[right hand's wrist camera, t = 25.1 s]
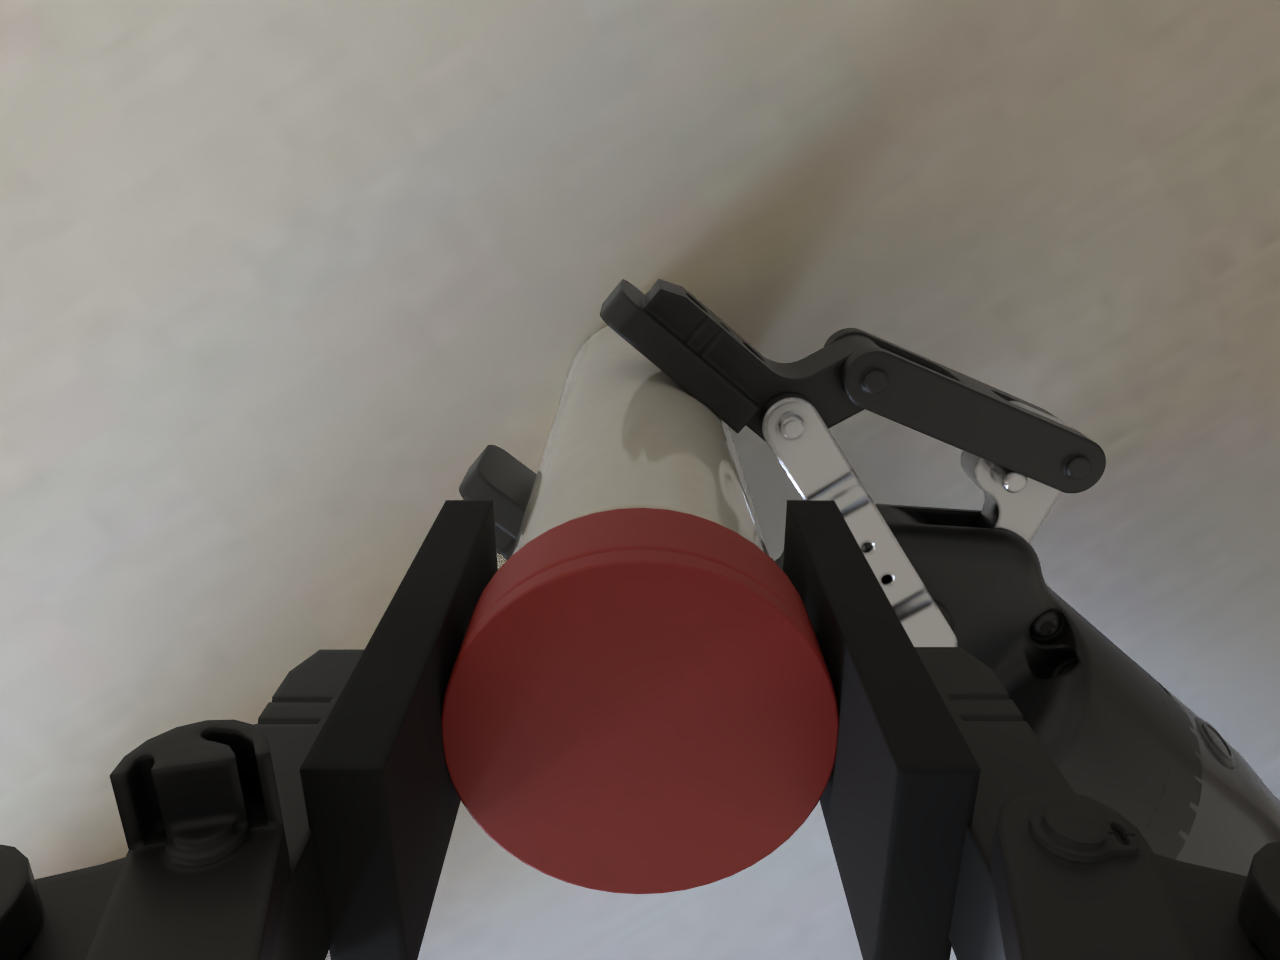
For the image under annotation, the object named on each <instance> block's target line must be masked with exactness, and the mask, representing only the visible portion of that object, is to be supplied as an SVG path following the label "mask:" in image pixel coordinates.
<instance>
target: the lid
mask: <svg viewBox="0 0 1280 960" xmlns="http://www.w3.org/2000/svg"><path fill="white" fill-rule="evenodd" d="M441 723H442V737H443V747H444V757H445V762H446V765H447V768H448V771H449V775H450V778H451V781H452V783H453V785H454V787H455V789H456V791H457V793H458V795H459V797H460V799H461V801H462V803H463V804H464V805H465V807H466V808H467V810H468V811H469V813H470V814H471V816H472V817H473V819H474V820H475V821H476V822H477V823H478V824H479V825H480V827H481V828H482V829H483V830H484V831H485V832H486V833H487V834H488V835H489V836H490V837H491V838H492V839H493V840H494V841H495V842H497V843H498V844H499V845H500V846H501V847H502V848H504V849H505V850H506V851H507V852H509V853H510V854H512V855H513V856H515V857H516V858H518V859H519V860H521V861H522V862H524V863H525V864H527V865H529V866H531V867H533V868H535V869H537V870H539V871H541V872H543V873H544V874H547V875H549V876H552V877H554V878H557V879H560V880H562V881H565V882H567V883H571V884H575V885H578V886H582V887H586V888H589V889H595V890H601V891H607V892H613V893H629V894H651V893H666V892H673V891H680V890H686V889H690V888H694V887H698V886H702V885H706V884H710V883H713V882H715V881H718V880H721V879H724V878H726V877H729V876H732V875H734V874H736V873H738V872H740V871H742V870H744V869H746V868H748V867H750V866H752V865H753V864H755V863H756V862H758V861H760V860H761V859H763V858H764V857H766V856H767V855H769V854H770V853H772V852H773V851H774V850H775V849H777V848H778V847H779V846H780V845H782V844H783V843H784V842H785V841H786V840H788V839H789V838H790V837H791V836H792V835H793V834H794V832H795V831H796V830H797V829H798V828H799V827H800V826H801V825H802V824H803V823H804V822H805V820H806V819H807V818H808V816H809V815H810V813H811V812H812V811H813V809H814V808H815V806H816V805H817V803H818V801H819V800H820V798H821V796H822V794H823V792H824V790H825V788H826V786H827V784H828V781H829V778H830V776H831V773H832V770H833V767H834V764H835V759H836V751H837V741H838V730H839V711H838V703H837V697H836V694H835V690H834V687H833V683H832V680H831V676H830V674H829V671H828V668H827V665H826V663H825V660H824V657H823V654H822V651H821V648H820V646H819V643H818V640H817V637H816V634H815V632H814V629H813V626H812V623H811V621H810V618H809V615H808V612H807V610H806V608H805V606H804V604H803V601H802V599H801V597H800V595H799V593H798V592H797V590H796V589H795V587H794V586H793V584H792V582H791V581H790V579H789V578H788V576H787V575H786V574H785V573H784V572H783V571H782V569H781V568H780V567H779V566H778V565H777V564H776V563H775V562H774V560H773V559H772V558H770V557H769V556H768V555H767V554H766V553H764V552H763V551H762V550H761V549H760V548H759V547H757V546H756V545H755V544H754V543H752V542H750V541H749V540H747V539H746V538H744V537H743V536H741V535H740V534H738V533H737V532H735V531H733V530H730V529H728V528H726V527H724V526H722V525H720V524H718V523H716V522H713V521H710V520H707V519H704V518H701V517H698V516H695V515H692V514H687V513H682V512H677V511H672V510H667V509H653V508H627V509H615V510H609V511H603V512H597V513H593V514H589V515H586V516H583V517H579V518H576V519H573V520H570V521H567V522H565V523H563V524H561V525H558V526H556V527H554V528H552V529H549V530H548V531H546V532H544V533H543V534H541V535H539V536H538V537H536V538H534V539H533V540H531V541H530V542H528V543H527V544H526V545H524V546H523V547H522V548H521V549H519V550H518V551H517V552H516V553H515V554H513V555H512V556H511V557H510V558H509V559H508V560H507V561H506V562H505V563H504V564H503V565H502V567H501V568H500V569H499V570H498V571H497V572H496V573H495V575H494V576H493V577H492V579H491V580H490V582H489V583H488V585H487V586H486V587H485V589H484V590H483V592H482V594H481V596H480V598H479V600H478V602H477V604H476V606H475V608H474V611H473V614H472V617H471V619H470V622H469V625H468V628H467V630H466V633H465V636H464V639H463V642H462V644H461V647H460V650H459V653H458V656H457V659H456V661H455V664H454V667H453V670H452V672H451V676H450V679H449V682H448V685H447V688H446V691H445V694H444V701H443V707H442V713H441Z"/></svg>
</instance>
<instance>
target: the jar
mask: <svg viewBox="0 0 1280 960" xmlns="http://www.w3.org/2000/svg"><path fill="white" fill-rule="evenodd" d="M627 508H653V509H667V510H672V511H677V512H682V513H687V514H692V515H695V516H698V517H701V518H704V519H707V520H710V521H713V522H716V523H718V524H720V525H722V526H724V527H726V528H728V529H730V530H733V531H735V532H737V533H738V534H740V535H741V536H743V537H744V538H746V539H747V540H749V541H750V542H752V543H754V544H755V545H756V546H757V547H759V548H760V549H761V550H762V551H763V552H764V553H766V554H767V555H768V556H769V553H768V550H767V547H766V544H765V541H764V538H763V534H762V531H761V528H760V525H759V522H758V518H757V515H756V512H755V509H754V506H753V502H752V499H751V496H750V493H749V490H748V487H747V483H746V480H745V477H744V474H743V471H742V467H741V464H740V461H739V458H738V455H737V452H736V448H735V445H734V442H733V439H732V436H731V432H730V429H729V426H728V425H727V424H726V423H725V422H723V421H722V420H721V419H720V418H718V417H717V416H716V415H715V414H714V413H713V412H712V411H710V410H709V409H708V408H707V407H706V406H705V405H703V404H702V403H701V402H699V401H698V400H697V399H696V398H694V397H693V396H692V395H691V394H689V393H688V392H687V391H686V390H685V389H683V388H682V387H681V386H680V385H679V384H677V383H676V382H675V381H674V380H673V379H671V378H670V377H669V376H668V375H666V374H665V373H664V372H663V371H662V370H660V369H659V368H658V367H657V366H656V365H654V364H653V363H652V362H651V361H650V360H648V359H647V358H646V357H645V356H644V355H642V354H641V353H640V352H639V351H637V350H636V349H635V348H634V347H633V346H631V345H630V344H629V343H628V342H627V341H625V340H624V339H623V338H622V337H621V336H619V335H618V334H617V333H616V332H615V331H614V330H612V329H611V328H610V327H609V326H608V325H607V326H606V327H604V328H602V329H600V330H599V331H597V332H596V333H595V334H593V335H592V336H591V337H590V338H589V339H588V340H587V341H586V342H585V343H584V344H583V345H582V347H581V348H580V349H579V351H578V352H577V354H576V356H575V358H574V359H573V362H572V364H571V367H570V370H569V373H568V376H567V379H566V383H565V386H564V389H563V392H562V395H561V399H560V402H559V405H558V408H557V411H556V414H555V418H554V421H553V424H552V427H551V430H550V434H549V437H548V440H547V443H546V446H545V450H544V453H543V456H542V459H541V462H540V465H539V469H538V472H537V475H536V478H535V481H534V485H533V488H532V491H531V494H530V497H529V501H528V504H527V507H526V510H525V513H524V516H523V520H522V523H521V526H520V529H519V532H518V536H517V539H516V542H515V545H514V548H513V551H512V555H513V554H515V553H516V552H517V551H518V550H519V549H521V548H522V547H523V546H524V545H526V544H527V543H528V542H530V541H531V540H533V539H534V538H536V537H538V536H539V535H541V534H543V533H544V532H546V531H548V530H549V529H552V528H554V527H556V526H558V525H561V524H563V523H565V522H567V521H570V520H573V519H576V518H579V517H583V516H586V515H589V514H593V513H597V512H603V511H609V510H615V509H627ZM512 555H511V556H512Z"/></svg>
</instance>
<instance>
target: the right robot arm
mask: <svg viewBox="0 0 1280 960" xmlns="http://www.w3.org/2000/svg"><path fill="white" fill-rule="evenodd" d="M497 571H498V570H497V554H496V538H495V522H494V506H493V500H446V502H445V503H444V505H443V507H442V509H441V511H440V513H439V514H438V516H437V518H436V520H435V522H434V524H433V525H432V527H431V529H430V531H429V533H428V535H427V536H426V538H425V540H424V542H423V544H422V546H421V547H420V549H419V551H418V553H417V555H416V557H415V558H414V560H413V562H412V564H411V566H410V568H409V569H408V571H407V573H406V575H405V577H404V579H403V580H402V582H401V584H400V586H399V588H398V590H397V591H396V593H395V595H394V597H393V599H392V601H391V602H390V604H389V606H388V608H387V610H386V612H385V613H384V615H383V617H382V619H381V621H380V623H379V624H378V626H377V628H376V630H375V632H374V634H373V635H372V637H371V639H370V641H369V643H368V645H367V646H366V648H365V650H319V651H317V652H316V653H315V654H313V655H312V656H311V657H309V658H308V659H306V660H305V661H304V662H302V663H301V664H299V665H298V666H297V667H295V668H294V669H293V670H291V671H290V672H289V673H288V675H287V676H286V678H285V679H284V681H283V682H282V684H281V685H280V687H279V688H278V690H277V691H276V693H275V694H274V696H273V697H272V702H269V703H268V705H267V706H266V708H265V709H264V711H263V712H262V714H261V715H260V717H259V718H258V724H254V725H252V724H248V723H244V722H241V721H237V720H206V721H202V722H198V723H193V724H189V725H185V726H180V727H176V728H174V729H172V730H170V731H167V732H165V733H163V734H160V735H158V736H156V737H154V738H151V739H149V740H147V741H146V742H144V743H143V744H142V745H140V746H139V747H137V748H136V749H135V750H133V751H132V752H130V753H129V754H127V755H126V756H125V757H124V758H123V759H122V760H121V762H120V763H119V764H118V766H117V767H116V768H115V769H114V771H113V772H112V773H111V775H110V779H111V783H112V787H113V791H114V795H115V798H116V802H117V806H118V810H119V814H120V818H121V822H122V825H123V829H124V833H125V837H126V841H127V845H128V849H129V851H128V853H127V856H126V857H125V858H121V859H118V860H115V861H111V862H108V863H105V864H101V865H97V866H93V867H88V868H84V869H79V870H75V871H71V872H66V873H62V874H58V875H53V876H49V877H45V878H40V879H36V880H34V876H33V873H32V870H31V867H30V864H29V860H28V858H26V857H25V856H24V855H23V854H22V853H21V852H20V851H19V850H17V849H16V848H15V847H11V846H5V845H0V960H325V958H326V956H327V953H328V950H330V956H331V960H417V958H418V954H419V951H420V947H421V943H422V940H423V936H424V933H425V929H426V925H427V922H428V918H429V914H430V911H431V907H432V903H433V900H434V896H435V892H436V889H437V885H438V881H439V878H440V874H441V870H442V867H443V863H444V859H445V856H446V852H447V848H448V845H449V841H450V837H451V834H452V830H453V826H454V823H455V819H456V816H457V812H458V808H459V805H460V801H461V799H460V797H459V795H458V793H457V791H456V789H455V787H454V785H453V783H452V781H451V778H450V775H449V771H448V768H447V765H446V762H445V757H444V747H443V737H442V723H441V713H442V707H443V701H444V694H445V691H446V688H447V685H448V682H449V679H450V676H451V672H452V670H453V667H454V664H455V661H456V659H457V656H458V653H459V650H460V647H461V644H462V642H463V639H464V636H465V633H466V630H467V628H468V625H469V622H470V619H471V617H472V614H473V611H474V608H475V606H476V604H477V602H478V600H479V598H480V596H481V594H482V592H483V590H484V589H485V587H486V586H487V585H488V583H489V582H490V580H491V579H492V577H493V576H494V575H495V573H496V572H497ZM783 572H784V573H785V574H786V575H787V576H788V578H789V579H790V581H791V582H792V584H793V586H794V587H795V589H796V590H797V592H798V593H799V595H800V597H801V599H802V601H803V604H804V606H805V608H806V610H807V612H808V615H809V618H810V621H811V623H812V626H813V629H814V632H815V634H816V637H817V640H818V643H819V646H820V648H821V651H822V654H823V657H824V660H825V663H826V665H827V668H828V671H829V674H830V676H831V680H832V683H833V687H834V690H835V694H836V697H837V703H838V711H839V730H838V741H837V751H836V759H835V764H834V767H833V770H832V773H831V776H830V778H829V781H828V784H827V786H826V788H825V790H824V792H823V794H822V796H821V798H820V803H821V807H822V810H823V814H824V818H825V821H826V825H827V829H828V832H829V836H830V840H831V843H832V847H833V851H834V854H835V858H836V862H837V865H838V869H839V873H840V876H841V880H842V884H843V887H844V891H845V895H846V898H847V902H848V906H849V909H850V913H851V917H852V920H853V924H854V927H855V931H856V935H857V938H858V942H859V946H860V949H861V953H862V957H863V960H949V959H950V953H951V947H952V948H953V950H954V953H955V955H956V958H957V960H1280V841H1278V842H1272V843H1267V844H1266V845H1265V846H1263V847H1262V848H1261V849H1260V850H1259V851H1258V852H1257V853H1256V854H1254V856H1253V859H1252V862H1251V865H1250V868H1249V872H1248V875H1247V876H1244V875H1239V874H1235V873H1230V872H1226V871H1222V870H1217V869H1213V868H1209V867H1204V866H1200V865H1195V864H1191V863H1187V862H1182V861H1178V860H1175V859H1172V858H1168V857H1165V856H1161V855H1158V854H1155V853H1153V852H1152V849H1151V847H1150V846H1149V844H1148V843H1147V841H1146V840H1145V838H1144V837H1143V835H1142V834H1141V832H1140V831H1139V829H1138V828H1137V827H1135V826H1134V825H1133V824H1132V823H1131V822H1129V821H1128V820H1127V819H1126V818H1124V817H1123V816H1122V815H1121V814H1119V813H1118V812H1117V811H1116V810H1114V809H1112V808H1110V807H1108V806H1106V805H1104V804H1102V803H1100V802H1098V801H1096V800H1094V799H1092V798H1090V797H1087V796H1084V795H1080V794H1076V793H1074V791H1073V790H1072V788H1071V787H1070V785H1069V784H1068V782H1067V781H1066V779H1065V778H1064V777H1063V775H1062V774H1061V772H1060V771H1059V769H1058V768H1057V766H1056V765H1055V763H1054V762H1053V760H1052V759H1051V757H1050V756H1049V754H1048V753H1047V751H1046V750H1045V748H1044V747H1043V745H1042V744H1041V742H1040V741H1039V739H1038V738H1037V736H1036V735H1035V733H1034V732H1033V730H1032V729H1031V727H1030V726H1029V724H1028V723H1027V721H1023V715H1022V714H1021V712H1020V711H1019V709H1018V708H1017V706H1016V705H1015V703H1014V702H1013V700H1009V697H1008V696H1009V694H1008V693H1007V691H1006V690H1005V688H1004V687H1003V685H1002V684H1001V682H1000V681H999V679H998V678H997V676H996V675H995V673H994V672H993V671H992V669H991V668H989V667H988V666H987V665H985V664H984V663H982V662H981V661H980V660H978V659H977V658H976V657H974V656H973V655H971V654H970V653H969V652H967V651H966V650H964V649H963V648H962V647H914V646H913V644H912V642H911V640H910V638H909V636H908V635H907V633H906V631H905V629H904V627H903V625H902V624H901V622H900V620H899V618H898V616H897V614H896V613H895V611H894V609H893V607H892V605H891V603H890V602H889V600H888V598H887V596H886V594H885V592H884V591H883V589H882V587H881V585H880V583H879V581H878V580H877V578H876V576H875V574H874V572H873V570H872V569H871V567H870V565H869V563H868V561H867V559H866V558H865V556H864V554H863V552H862V550H861V548H860V547H859V545H858V543H857V541H856V539H855V537H854V536H853V534H852V532H851V530H850V528H849V526H848V525H847V523H846V521H845V519H844V517H843V515H842V514H841V512H840V510H839V508H838V506H837V504H836V503H835V501H834V500H787V512H786V528H785V544H784V560H783Z"/></svg>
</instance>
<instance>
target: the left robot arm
mask: <svg viewBox="0 0 1280 960" xmlns="http://www.w3.org/2000/svg"><path fill="white" fill-rule="evenodd" d="M600 316H601V318H602V319H603V320H604V321H605V323H606V324H607V325H608V326H609V327H610V328H611V329H612V330H614V331H615V332H616V333H617V334H618V335H619V336H621V337H622V338H623V339H624V340H625V341H627V342H628V343H629V344H630V345H631V346H633V347H634V348H635V349H636V350H637V351H639V352H640V353H641V354H642V355H644V356H645V357H646V358H647V359H648V360H650V361H651V362H652V363H653V364H654V365H656V366H657V367H658V368H659V369H660V370H662V371H663V372H664V373H665V374H666V375H668V376H669V377H670V378H671V379H673V380H674V381H675V382H676V383H677V384H679V385H680V386H681V387H682V388H683V389H685V390H686V391H687V392H688V393H689V394H691V395H692V396H693V397H694V398H696V399H697V400H698V401H699V402H701V403H702V404H703V405H705V406H706V407H707V408H708V409H709V410H710V411H712V412H713V413H714V414H715V415H716V416H717V417H718V418H720V419H721V420H722V421H723V422H725V423H726V424H727V425H728V426H729V427H731V428H732V429H733V430H734V431H735V432H737V433H739V432H740V431H741V429H742V428H743V427H744V426H745V425H746V426H748V427H749V428H750V429H751V430H752V431H754V432H755V433H756V434H757V435H758V436H760V437H761V438H762V439H763V440H764V441H766V442H767V444H768V445H769V447H770V448H771V450H772V451H773V453H774V454H775V456H776V458H777V459H778V461H779V462H780V464H781V465H782V467H783V468H784V470H785V472H786V473H787V475H788V476H789V478H790V479H791V481H792V482H793V484H794V486H795V487H796V489H797V490H798V492H799V493H800V495H801V496H802V498H803V500H834V501H835V503H836V504H837V506H838V508H839V510H840V512H841V514H842V515H843V517H844V519H845V521H846V523H847V525H848V526H849V528H850V530H851V532H852V534H853V536H854V537H855V539H856V541H857V543H858V545H859V547H860V548H861V550H862V552H863V554H864V556H865V558H866V559H867V561H868V563H869V565H870V567H871V569H872V570H873V572H874V574H875V576H876V578H877V580H878V581H879V583H880V585H881V587H882V589H883V591H884V592H885V594H886V596H887V598H888V600H889V602H890V603H891V605H892V607H893V609H894V611H895V613H896V614H897V616H898V618H899V620H900V622H901V624H902V625H903V627H904V629H905V631H906V633H907V635H908V636H909V638H910V640H911V642H912V644H913V646H914V647H962V648H963V649H964V650H966V651H967V652H969V653H970V654H971V655H973V656H974V657H976V658H977V659H978V660H980V661H981V662H982V663H984V664H985V665H987V666H988V667H989V668H991V669H992V671H993V672H994V673H995V675H996V676H997V678H998V679H999V681H1000V682H1001V684H1002V685H1003V687H1004V688H1005V690H1006V691H1007V693H1008V694H1009V696H1008V697H1009V700H1013V702H1014V703H1015V705H1016V706H1017V708H1018V709H1019V711H1020V712H1021V714H1022V715H1023V721H1027V723H1028V724H1029V726H1030V727H1031V729H1032V730H1033V732H1034V733H1035V735H1036V736H1037V738H1038V739H1039V741H1040V742H1041V744H1042V745H1043V747H1044V748H1045V750H1046V751H1047V753H1048V754H1049V756H1050V757H1051V759H1052V760H1053V762H1054V763H1055V765H1056V766H1057V768H1058V769H1059V771H1060V772H1061V774H1062V775H1063V777H1064V778H1065V779H1066V781H1067V782H1068V784H1069V785H1070V787H1071V788H1072V790H1073V791H1074V793H1076V794H1080V795H1084V796H1087V797H1090V798H1092V799H1094V800H1096V801H1098V802H1100V803H1102V804H1104V805H1106V806H1108V807H1110V808H1112V809H1114V810H1116V811H1117V812H1118V813H1119V814H1121V815H1122V816H1123V817H1124V818H1126V819H1127V820H1128V821H1129V822H1131V823H1132V824H1133V825H1134V826H1135V827H1137V828H1138V829H1139V831H1140V832H1141V834H1142V835H1143V837H1144V838H1145V840H1146V841H1147V843H1148V844H1149V846H1150V847H1151V849H1152V852H1153V853H1155V854H1158V855H1161V856H1165V857H1168V858H1172V859H1175V860H1178V861H1182V862H1187V863H1191V864H1195V865H1200V866H1204V867H1209V868H1213V869H1217V870H1222V871H1226V872H1230V873H1235V874H1239V875H1244V876H1247V875H1248V872H1249V868H1250V865H1251V862H1252V859H1253V856H1254V854H1256V853H1257V852H1258V851H1259V850H1260V849H1261V848H1262V847H1263V846H1265V845H1266V844H1267V843H1272V842H1278V841H1280V800H1279V799H1278V798H1276V797H1275V796H1274V795H1273V794H1272V792H1271V791H1270V790H1269V789H1268V788H1267V787H1266V785H1265V784H1264V783H1263V782H1262V780H1261V779H1260V778H1259V777H1258V775H1257V774H1256V773H1255V771H1254V770H1253V769H1252V768H1251V767H1250V765H1249V764H1248V763H1247V762H1246V761H1245V760H1244V759H1243V757H1242V756H1241V755H1240V754H1239V753H1238V752H1237V751H1236V750H1235V749H1233V748H1232V747H1231V746H1230V745H1229V744H1228V743H1227V742H1226V741H1225V740H1224V739H1223V738H1222V737H1221V735H1220V734H1219V733H1218V732H1217V731H1216V730H1215V729H1214V728H1213V727H1212V726H1211V725H1210V724H1209V723H1207V722H1205V721H1204V720H1202V719H1201V718H1199V717H1198V716H1197V715H1196V714H1194V713H1193V712H1192V711H1191V710H1190V709H1189V708H1187V707H1186V706H1185V705H1184V704H1183V703H1182V702H1180V701H1179V700H1178V699H1177V698H1176V697H1175V696H1173V695H1172V694H1171V693H1170V692H1169V691H1168V690H1166V689H1165V688H1164V687H1163V686H1162V685H1161V684H1160V683H1159V682H1157V681H1156V680H1155V679H1154V678H1153V677H1152V676H1151V675H1149V674H1148V673H1147V672H1146V671H1145V670H1144V669H1143V668H1141V667H1140V666H1139V665H1138V664H1137V663H1136V662H1134V661H1133V660H1132V659H1131V658H1130V657H1129V656H1127V655H1126V654H1125V653H1124V652H1123V651H1122V650H1120V649H1119V648H1118V647H1117V646H1116V645H1115V644H1114V643H1112V642H1111V641H1110V640H1109V639H1108V638H1107V637H1105V636H1104V635H1103V634H1102V633H1101V632H1100V631H1099V630H1097V629H1096V628H1095V627H1094V626H1093V625H1092V624H1090V623H1089V622H1088V621H1087V620H1086V619H1085V618H1084V617H1082V616H1081V615H1080V614H1079V613H1078V612H1077V611H1076V610H1074V609H1073V608H1072V607H1071V606H1070V605H1069V604H1067V603H1066V602H1065V601H1064V600H1063V599H1062V598H1061V597H1059V596H1058V595H1057V594H1056V593H1055V592H1054V591H1052V590H1051V589H1050V588H1049V587H1048V586H1047V585H1046V583H1045V581H1044V578H1043V576H1042V572H1041V567H1040V562H1039V559H1038V557H1037V554H1036V553H1035V551H1034V549H1033V548H1032V546H1031V545H1030V544H1029V542H1030V541H1031V539H1032V538H1033V536H1034V534H1035V533H1036V531H1037V530H1038V528H1039V527H1040V525H1041V523H1042V522H1043V520H1044V519H1045V517H1046V515H1047V514H1048V512H1049V511H1050V509H1051V508H1052V506H1053V504H1054V503H1055V501H1056V500H1057V498H1058V496H1059V495H1060V493H1061V492H1065V493H1078V492H1082V491H1085V490H1087V489H1089V488H1090V487H1092V486H1093V485H1094V484H1095V483H1097V481H1098V480H1099V479H1100V478H1101V476H1102V474H1103V472H1104V469H1105V465H1106V458H1105V454H1104V452H1103V450H1102V449H1101V447H1100V446H1099V445H1098V444H1096V443H1095V442H1093V441H1092V440H1090V439H1089V438H1087V437H1086V436H1084V435H1083V434H1081V433H1080V432H1079V431H1077V430H1075V429H1074V428H1072V427H1071V426H1069V425H1068V424H1066V423H1065V422H1063V421H1062V420H1060V419H1058V418H1057V417H1055V416H1054V415H1052V414H1051V413H1049V412H1048V411H1046V410H1044V409H1042V408H1040V407H1037V406H1035V405H1033V404H1031V403H1028V402H1026V401H1024V400H1021V399H1019V398H1017V397H1014V396H1012V395H1010V394H1007V393H1005V392H1003V391H1000V390H998V389H996V388H994V387H991V386H989V385H987V384H984V383H982V382H980V381H977V380H975V379H973V378H970V377H968V376H966V375H964V374H961V373H959V372H957V371H954V370H952V369H950V368H947V367H945V366H943V365H940V364H938V363H936V362H934V361H931V360H929V359H927V358H924V357H922V356H920V355H917V354H915V353H913V352H910V351H908V350H906V349H904V348H901V347H899V346H897V345H894V344H892V343H890V342H887V341H885V340H883V339H880V338H878V337H876V336H874V335H871V334H869V333H867V332H864V331H862V330H859V329H856V328H846V329H842V330H839V331H837V332H836V333H834V334H833V335H832V336H830V338H829V339H828V340H827V341H826V343H825V345H824V348H822V349H820V350H818V351H816V352H815V353H813V354H811V355H809V356H807V357H806V358H804V359H802V360H799V361H797V362H793V363H776V362H773V361H770V360H768V359H766V358H765V357H764V356H762V355H761V354H760V353H759V352H758V351H756V350H755V349H754V348H753V347H752V346H751V345H750V344H748V343H747V342H746V341H745V340H744V339H743V338H741V337H740V336H739V335H738V334H737V333H736V332H734V331H733V330H732V329H731V328H730V327H729V326H727V325H726V324H725V323H724V322H723V321H722V320H721V319H719V318H718V317H717V316H716V315H715V314H714V313H712V312H711V311H710V310H709V309H708V308H707V307H705V306H704V305H703V304H702V303H701V302H700V301H698V300H697V299H696V298H695V297H694V296H693V295H691V294H690V293H689V292H688V291H687V290H686V289H685V288H683V287H681V286H678V285H675V284H672V283H669V282H666V281H663V280H660V279H659V280H658V281H657V282H656V283H655V284H654V286H653V287H652V288H651V289H650V290H649V292H648V293H647V294H646V295H644V294H643V293H642V292H641V291H640V290H638V289H637V288H636V287H635V286H633V285H632V284H631V283H629V282H628V281H626V280H624V279H623V280H622V281H621V282H620V283H619V284H618V286H617V287H616V288H615V289H614V291H613V292H612V293H611V294H610V295H609V297H608V298H607V299H606V300H605V302H604V303H603V304H602V308H601V312H600ZM864 409H866V410H869V411H871V412H873V413H876V414H878V415H881V416H883V417H885V418H888V419H890V420H892V421H895V422H897V423H900V424H902V425H904V426H907V427H909V428H912V429H914V430H916V431H919V432H921V433H923V434H926V435H928V436H931V437H933V438H935V439H938V440H940V441H942V442H945V443H947V444H950V445H952V446H954V447H957V448H959V449H962V450H963V452H962V455H961V465H962V468H963V470H964V472H965V473H966V474H967V475H968V476H969V477H970V478H971V479H972V481H973V482H974V483H975V484H976V485H977V486H978V487H979V488H980V489H982V490H983V491H984V496H985V501H984V506H983V508H982V510H981V511H978V510H963V509H948V508H932V507H917V506H901V505H886V504H874V502H873V501H872V499H871V497H870V496H869V494H868V493H867V491H866V489H865V488H864V486H863V485H862V483H861V481H860V480H859V478H858V477H857V475H856V473H855V472H854V470H853V469H852V467H851V465H850V464H849V462H848V460H847V459H846V457H845V456H844V454H843V452H842V451H841V449H840V447H839V446H838V444H837V443H836V441H835V439H834V438H833V436H832V434H831V433H830V431H829V429H828V428H830V427H832V426H834V425H836V424H838V423H840V422H841V421H843V420H845V419H847V418H849V417H851V416H853V415H855V414H857V413H858V412H860V411H862V410H864ZM536 475H537V474H535V473H534V472H533V471H531V470H530V469H529V468H527V467H526V466H525V465H523V464H522V463H521V462H519V461H518V460H517V459H515V458H514V457H513V456H511V455H510V454H509V453H507V452H506V451H505V450H503V449H501V448H500V447H497V446H495V445H488V446H487V447H486V448H485V450H484V451H483V452H482V453H481V454H480V456H479V457H478V458H477V459H476V461H475V462H474V463H473V464H472V465H471V467H470V468H469V470H468V472H467V474H466V476H465V477H464V479H463V481H462V483H461V485H460V487H459V492H460V494H461V496H462V498H463V499H464V500H493V506H494V522H495V538H496V552H497V553H498V554H501V555H503V557H504V558H505V559H507V560H508V559H509V558H510V557H511V555H512V551H513V548H514V545H515V542H516V539H517V536H518V532H519V529H520V526H521V523H522V520H523V516H524V513H525V510H526V507H527V504H528V501H529V497H530V494H531V491H532V488H533V485H534V481H535V478H536ZM783 560H784V551H783V553H782V555H781V556H780V558H779V559H777V560H776V561H774V562H775V563H776V564H777V565H778V566H779V567H780V568H781V569H782V571H783Z"/></svg>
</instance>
